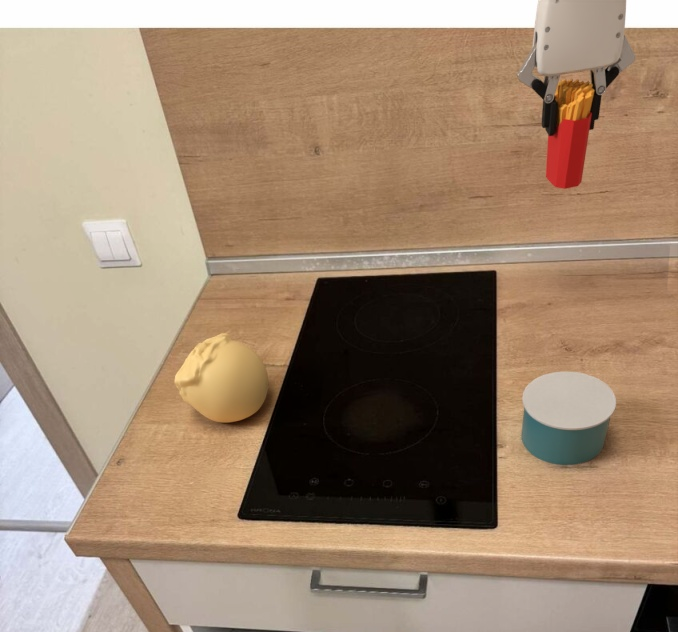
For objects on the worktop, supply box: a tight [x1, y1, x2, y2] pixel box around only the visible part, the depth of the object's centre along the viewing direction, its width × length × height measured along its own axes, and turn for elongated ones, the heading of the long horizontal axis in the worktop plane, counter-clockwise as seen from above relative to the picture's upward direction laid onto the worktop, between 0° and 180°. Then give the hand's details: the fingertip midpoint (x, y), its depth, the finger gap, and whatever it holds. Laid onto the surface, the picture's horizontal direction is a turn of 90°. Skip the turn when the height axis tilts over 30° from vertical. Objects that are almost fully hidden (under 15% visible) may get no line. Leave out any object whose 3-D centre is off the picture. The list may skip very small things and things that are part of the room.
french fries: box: [545, 78, 594, 190], centre depth 83 cm, size 8×4×12 cm, turn 6°
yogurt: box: [520, 370, 617, 466], centre depth 74 cm, size 10×10×8 cm
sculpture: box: [173, 332, 269, 423], centre depth 87 cm, size 11×12×11 cm
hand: (569, 128), depth 83 cm, fingers closed on french fries, 4 cm apart
